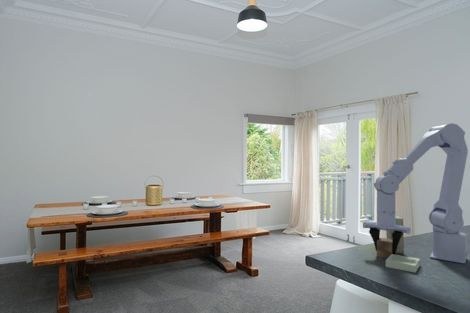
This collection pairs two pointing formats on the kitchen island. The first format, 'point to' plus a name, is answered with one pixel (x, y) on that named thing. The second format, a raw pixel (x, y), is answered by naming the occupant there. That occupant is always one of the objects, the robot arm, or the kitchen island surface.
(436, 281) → the kitchen island surface
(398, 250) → the skincare box
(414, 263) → the base slab
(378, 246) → the walnut block
